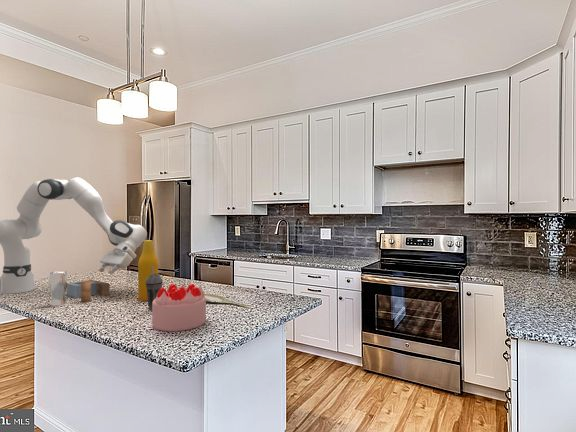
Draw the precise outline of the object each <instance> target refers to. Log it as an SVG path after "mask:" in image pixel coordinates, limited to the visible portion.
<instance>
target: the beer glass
mask: <svg viewBox="0 0 576 432" xmlns="http://www.w3.org/2000/svg"><path fill="white" fill-rule="evenodd" d="M48 283H49V290H50V296H51V300H50V301H51V302H50V306H51V307H60V306H65V305H67V300H66V299H67V298H66V295H67V283H68V272H67V271H63V270H62V271H61V270H60V271H52V272H50V273H49V282H48Z"/></svg>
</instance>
